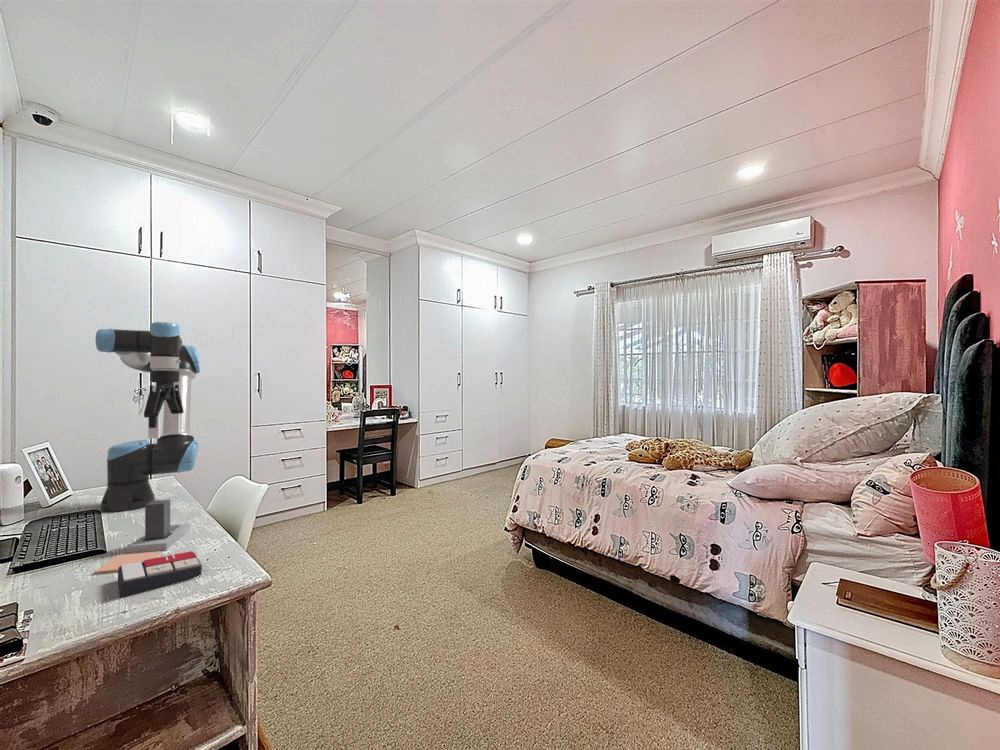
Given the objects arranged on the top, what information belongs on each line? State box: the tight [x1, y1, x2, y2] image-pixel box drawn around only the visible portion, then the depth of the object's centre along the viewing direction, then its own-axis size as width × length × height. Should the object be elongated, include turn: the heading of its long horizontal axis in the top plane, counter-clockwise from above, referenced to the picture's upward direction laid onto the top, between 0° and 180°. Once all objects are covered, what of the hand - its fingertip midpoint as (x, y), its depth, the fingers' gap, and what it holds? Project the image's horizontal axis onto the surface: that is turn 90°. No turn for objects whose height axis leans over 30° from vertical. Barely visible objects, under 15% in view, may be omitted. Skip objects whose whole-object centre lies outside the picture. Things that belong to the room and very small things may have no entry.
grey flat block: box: [127, 523, 191, 554], centre depth 127 cm, size 16×9×2 cm, turn 16°
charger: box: [144, 499, 171, 541], centre depth 125 cm, size 4×4×12 cm
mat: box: [93, 551, 162, 575], centre depth 113 cm, size 10×10×1 cm
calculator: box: [117, 551, 203, 599], centre depth 105 cm, size 11×4×15 cm
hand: (164, 435), depth 141 cm, fingers open, 13 cm apart
